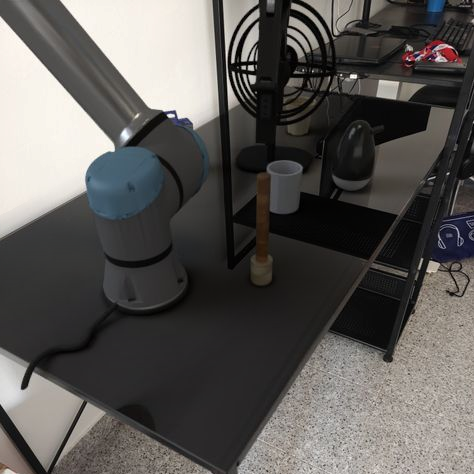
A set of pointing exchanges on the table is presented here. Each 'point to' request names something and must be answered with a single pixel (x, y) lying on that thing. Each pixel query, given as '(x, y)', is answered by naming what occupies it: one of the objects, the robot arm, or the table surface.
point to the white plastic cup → (285, 186)
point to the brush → (262, 233)
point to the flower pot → (303, 125)
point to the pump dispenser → (355, 156)
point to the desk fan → (266, 154)
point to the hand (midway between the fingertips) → (270, 125)
